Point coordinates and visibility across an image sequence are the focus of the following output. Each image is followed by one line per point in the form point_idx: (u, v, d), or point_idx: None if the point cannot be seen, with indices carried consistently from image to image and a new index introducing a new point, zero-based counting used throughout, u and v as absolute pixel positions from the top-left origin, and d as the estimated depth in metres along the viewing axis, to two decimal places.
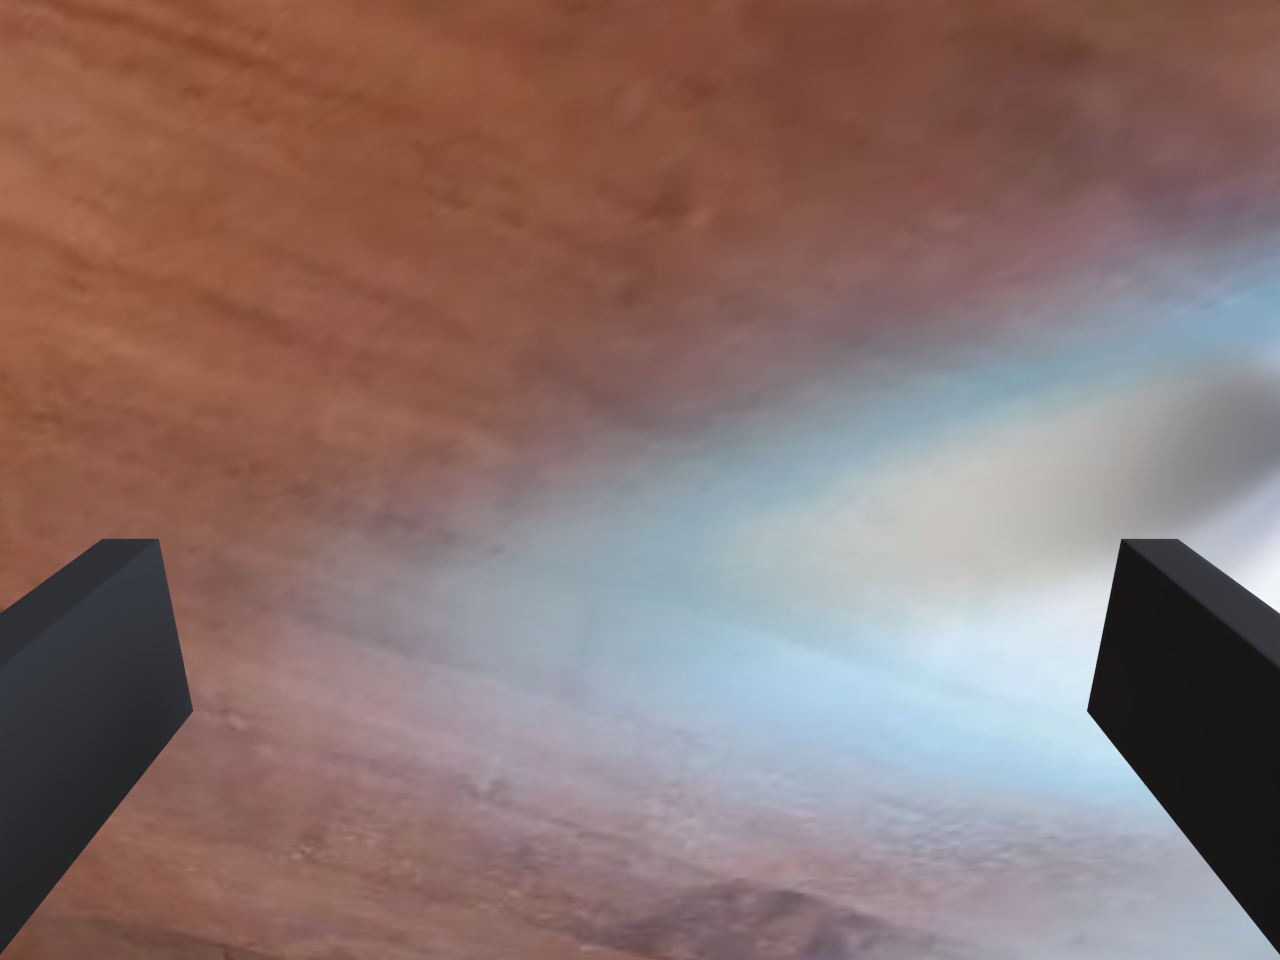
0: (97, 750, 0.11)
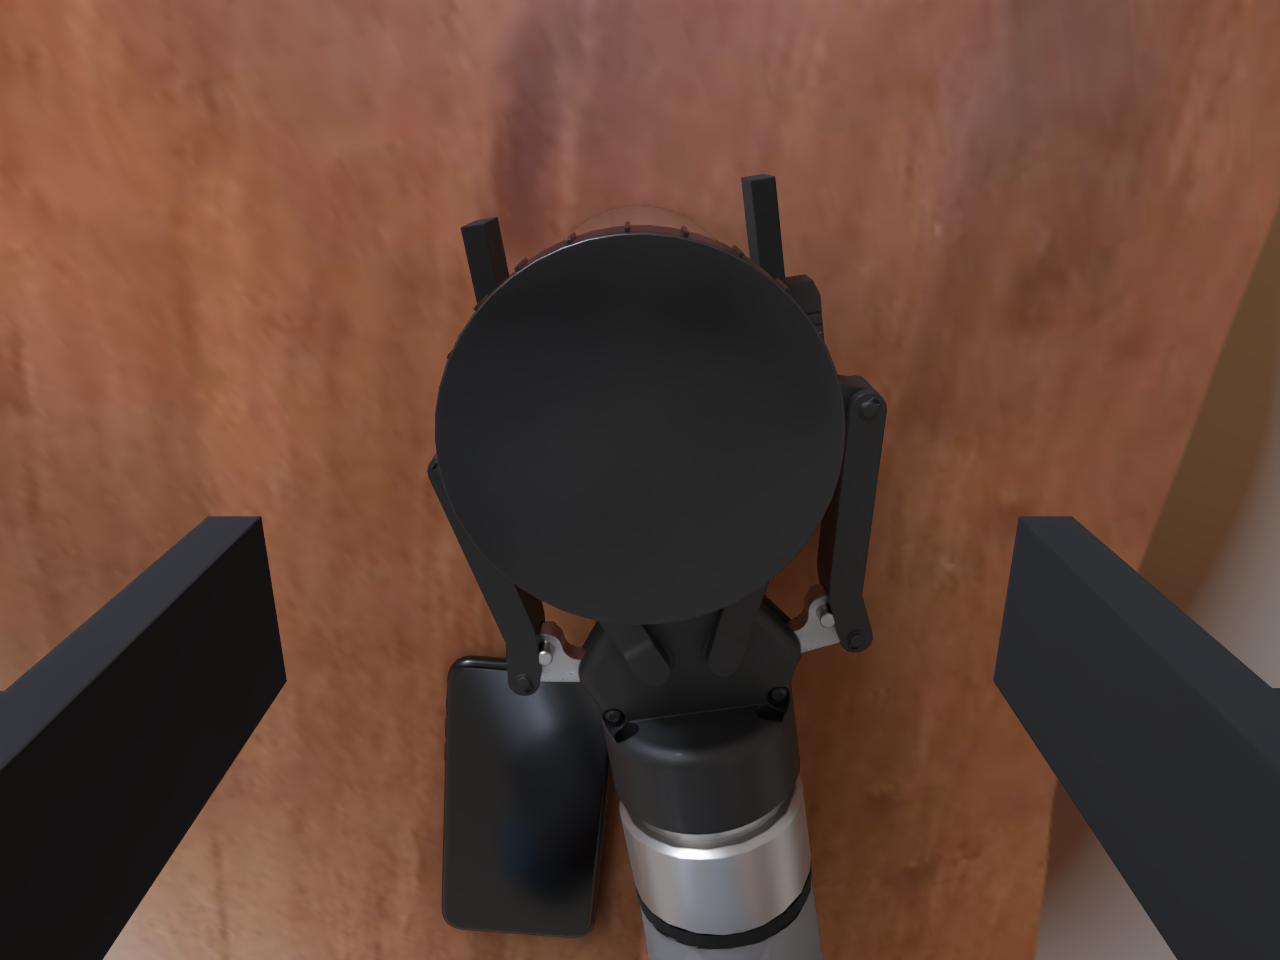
0: (215, 711, 0.11)
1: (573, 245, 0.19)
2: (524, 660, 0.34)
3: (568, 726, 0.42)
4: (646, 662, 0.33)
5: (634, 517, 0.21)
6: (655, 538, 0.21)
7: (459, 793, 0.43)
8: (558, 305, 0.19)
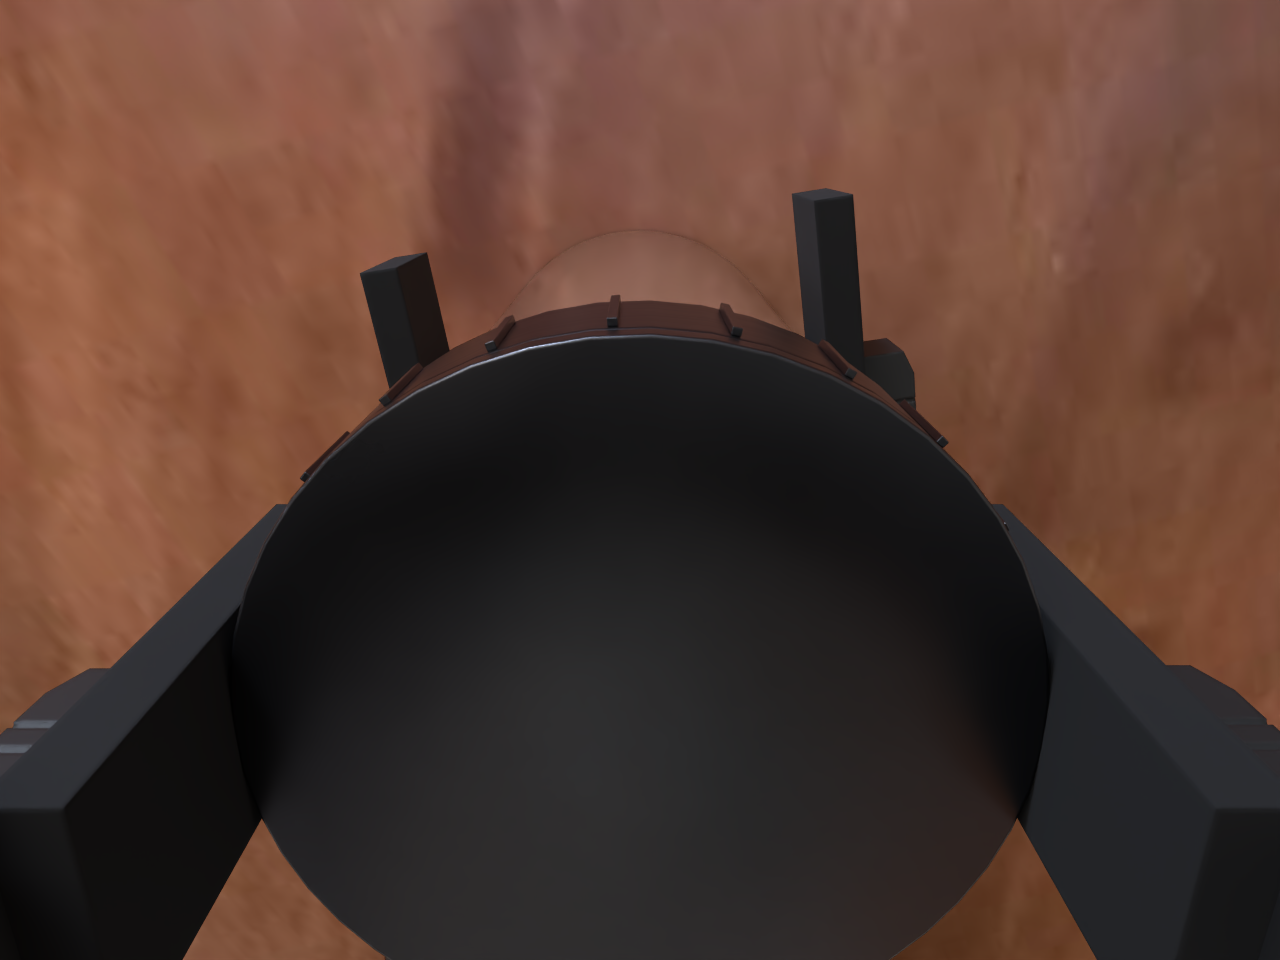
0: None
1: (496, 360, 0.09)
2: None
3: None
4: None
5: (628, 862, 0.11)
6: (668, 896, 0.11)
7: None
8: (468, 480, 0.09)
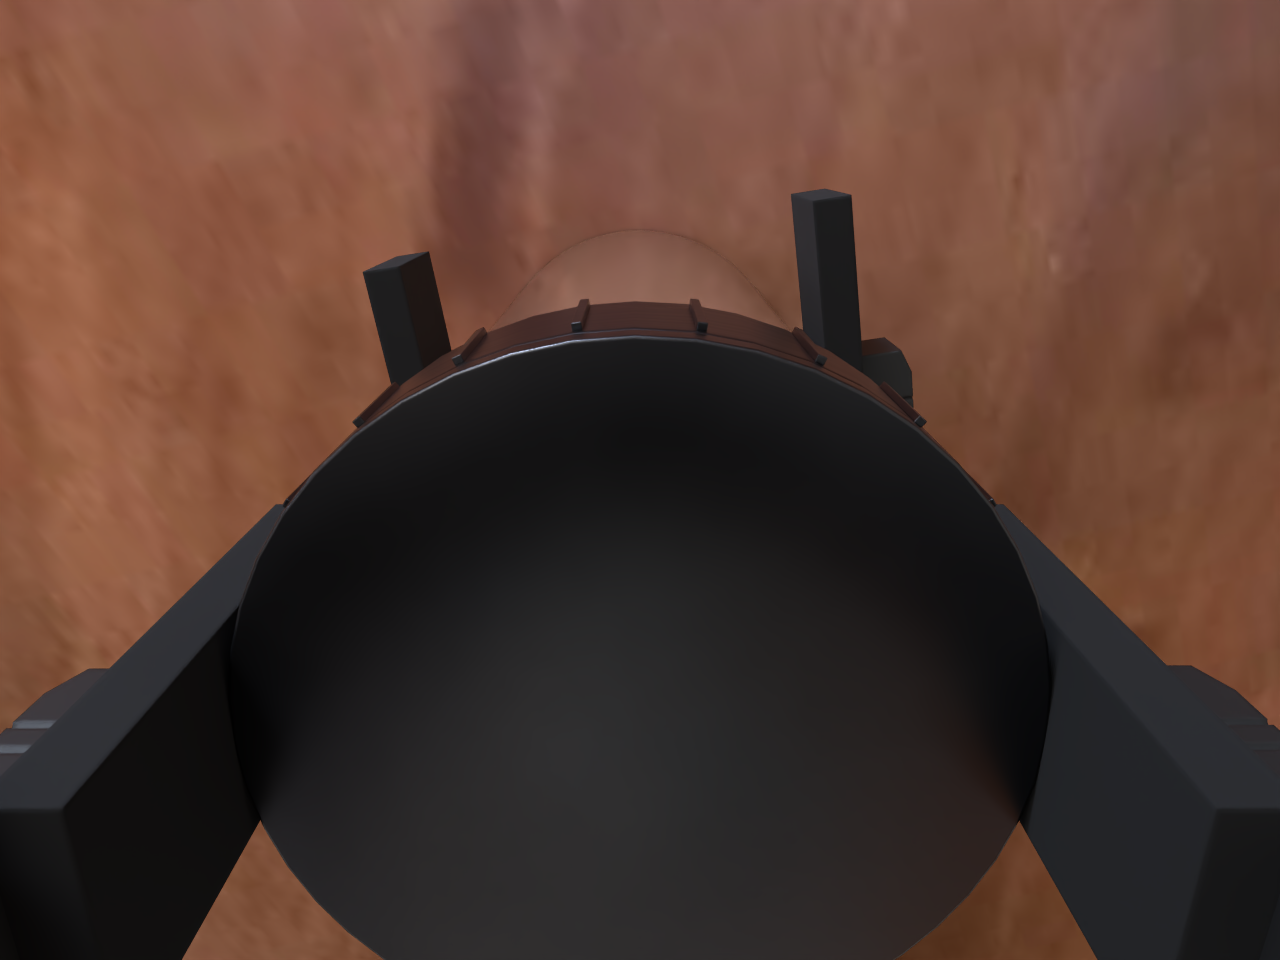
0: None
1: None
2: None
3: None
4: None
5: (773, 661, 0.10)
6: (784, 602, 0.10)
7: None
8: None
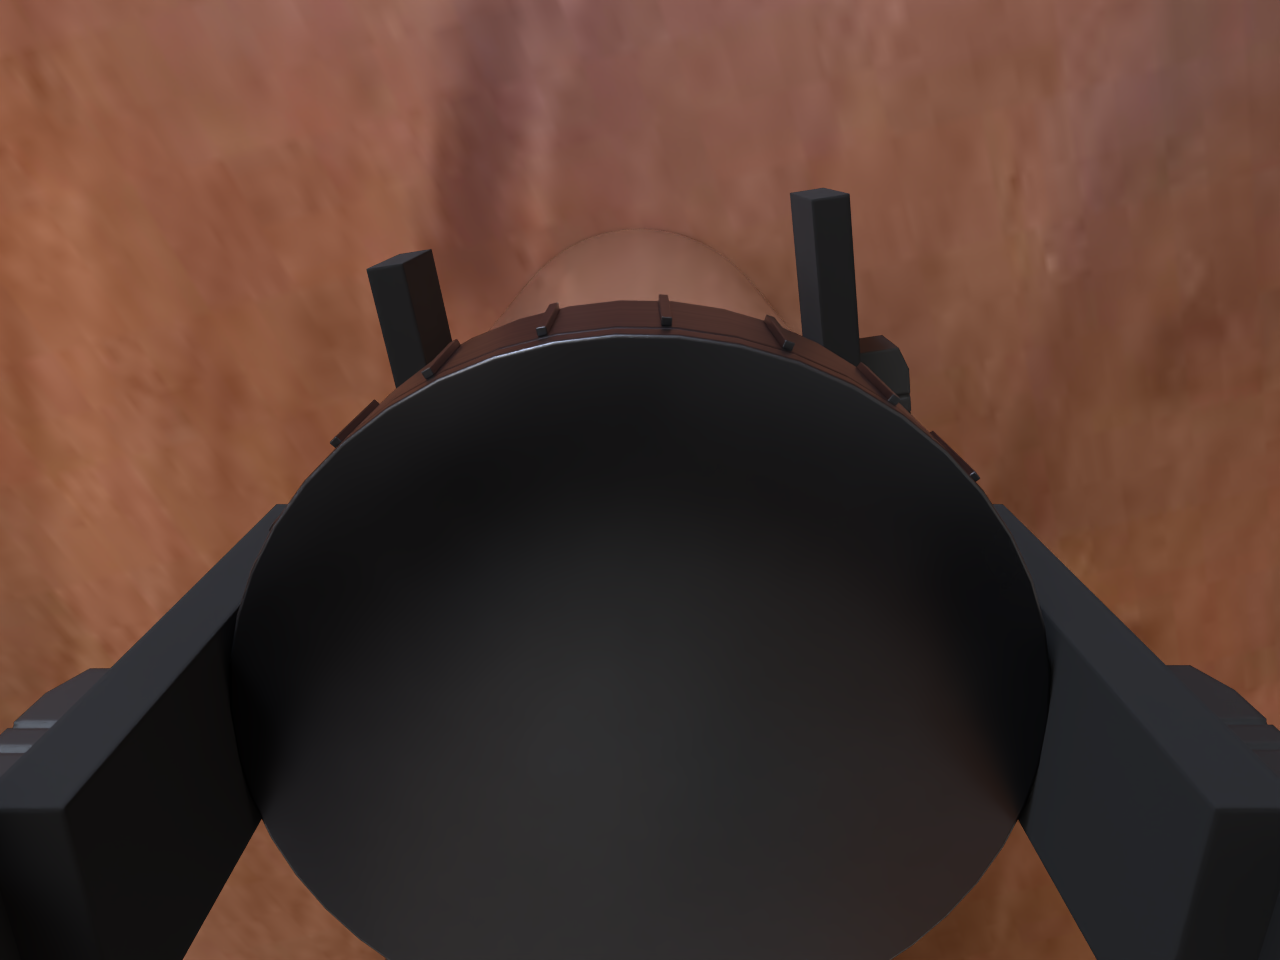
0: None
1: None
2: None
3: None
4: None
5: (485, 704, 0.10)
6: (433, 733, 0.10)
7: None
8: (950, 650, 0.10)
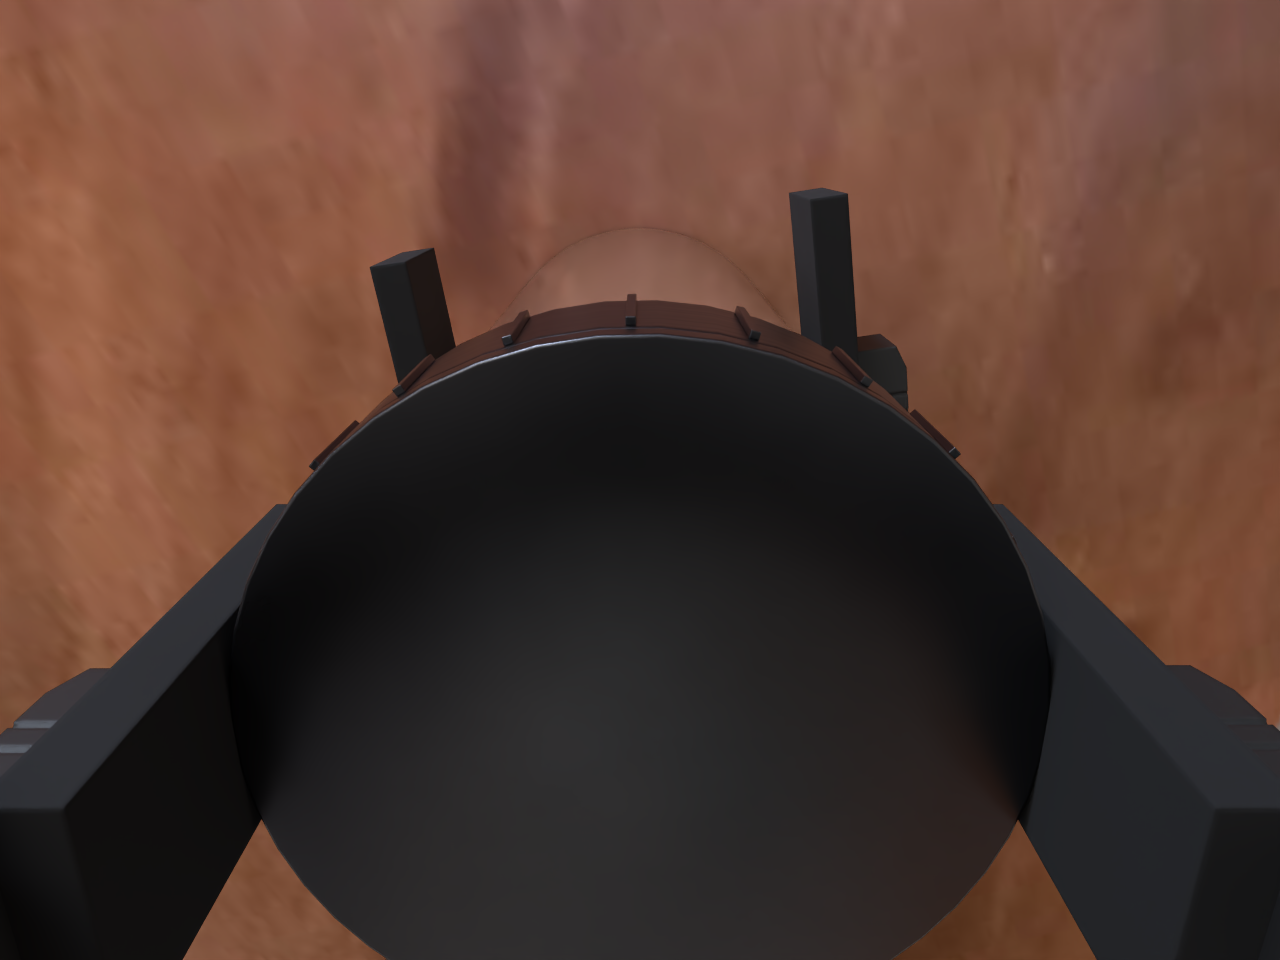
0: None
1: (310, 479, 0.09)
2: None
3: None
4: None
5: (703, 852, 0.11)
6: (759, 867, 0.11)
7: None
8: (354, 590, 0.10)
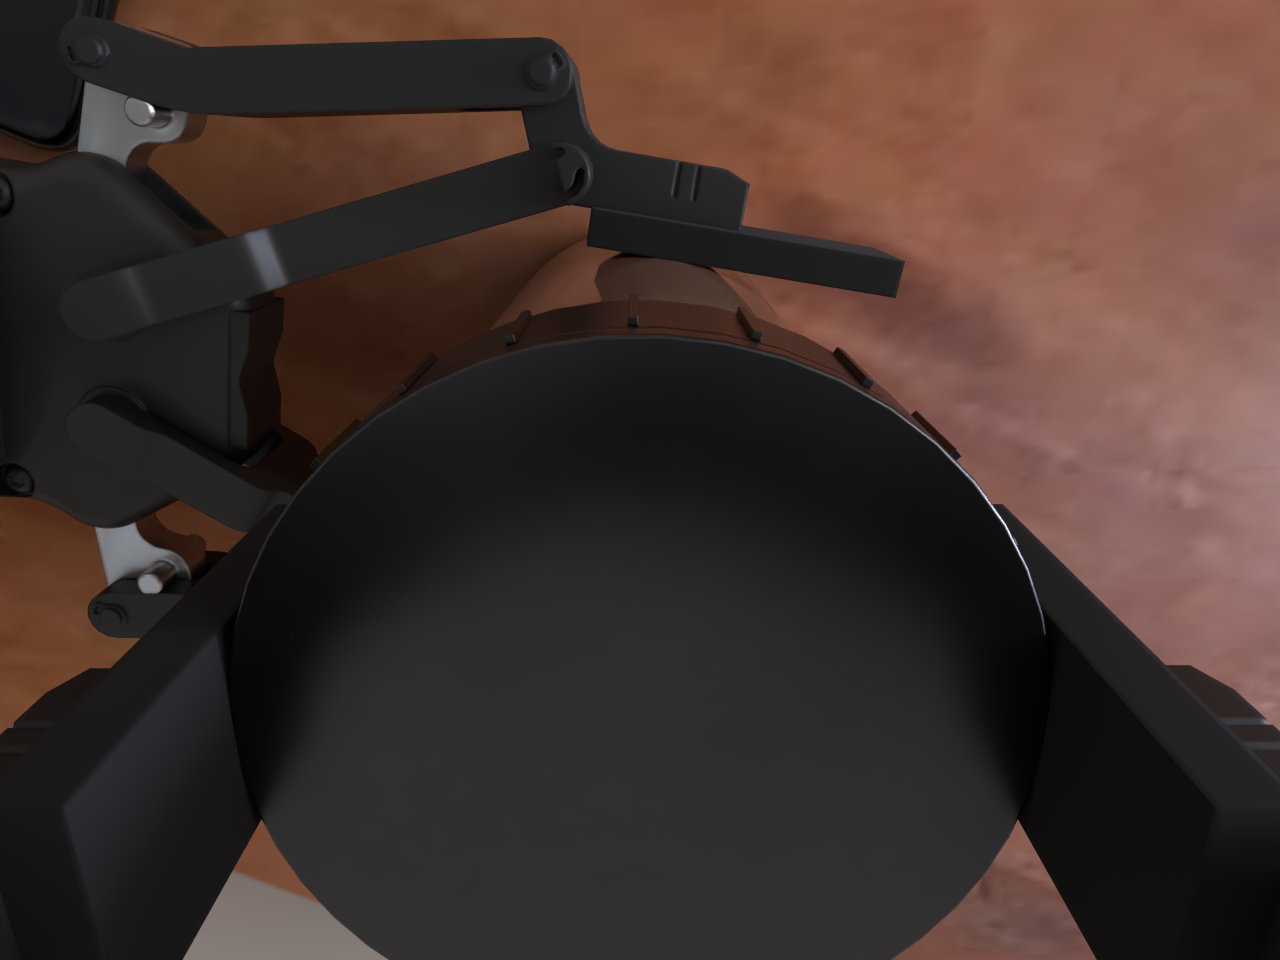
0: None
1: (311, 477, 0.09)
2: (139, 70, 0.18)
3: None
4: (111, 306, 0.18)
5: (702, 853, 0.11)
6: (758, 867, 0.11)
7: None
8: (354, 588, 0.10)
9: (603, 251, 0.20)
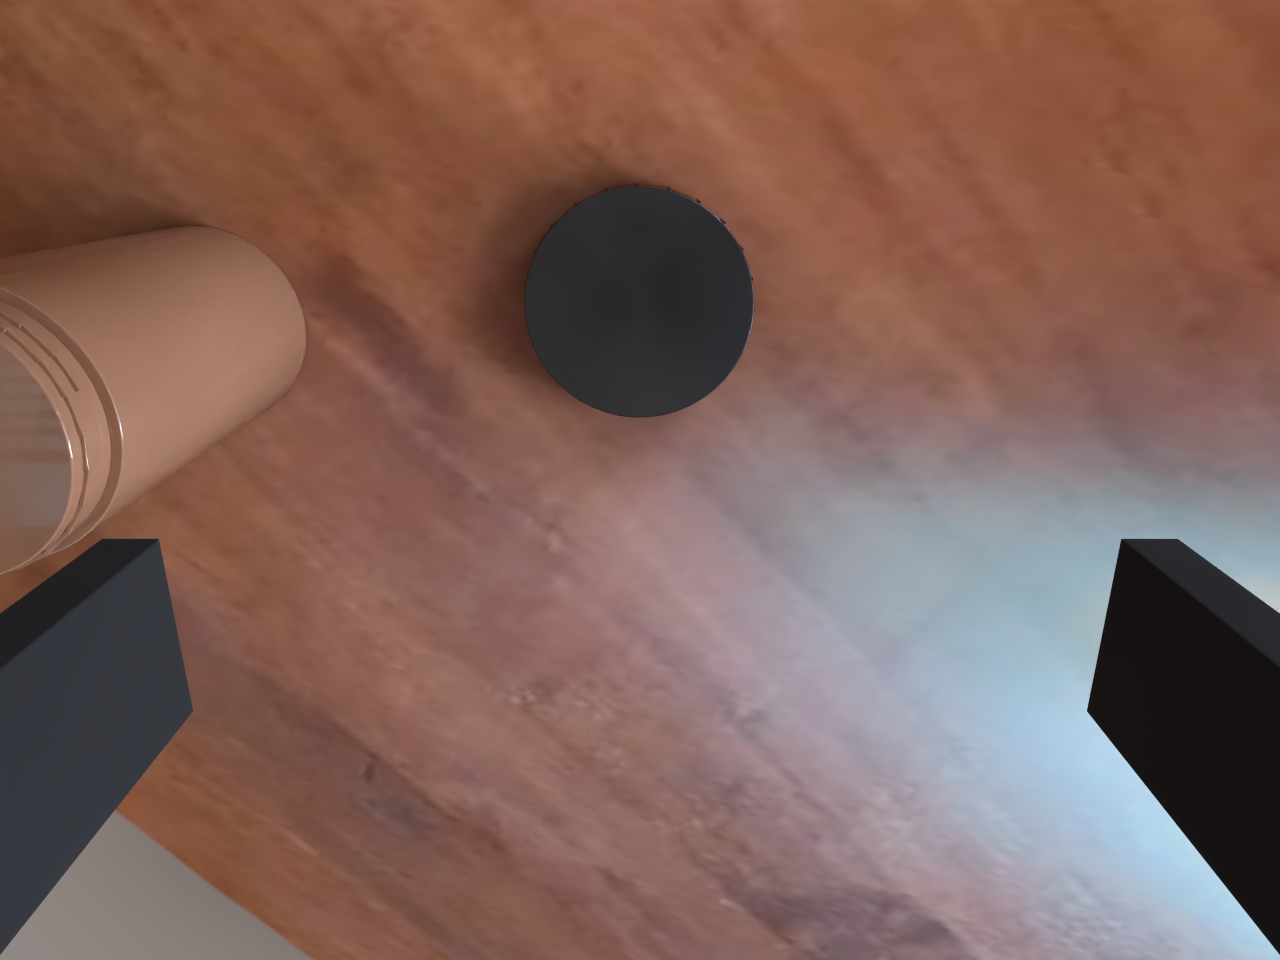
0: (97, 750, 0.11)
1: (553, 226, 0.35)
2: None
3: None
4: None
5: (657, 347, 0.37)
6: (674, 352, 0.37)
7: None
8: (562, 259, 0.36)
9: (144, 240, 0.32)
